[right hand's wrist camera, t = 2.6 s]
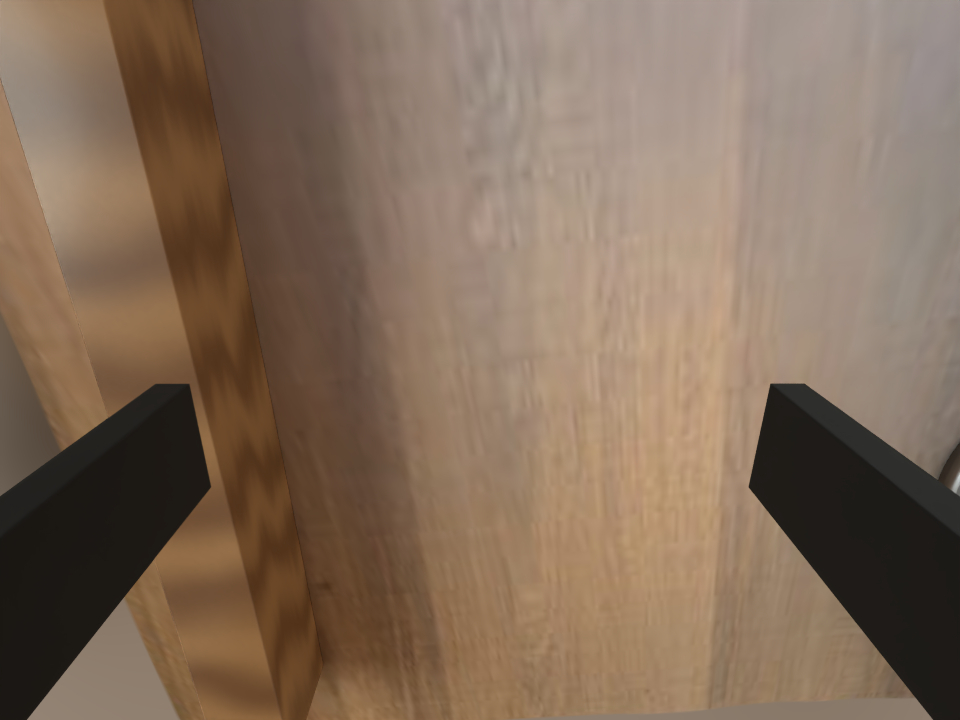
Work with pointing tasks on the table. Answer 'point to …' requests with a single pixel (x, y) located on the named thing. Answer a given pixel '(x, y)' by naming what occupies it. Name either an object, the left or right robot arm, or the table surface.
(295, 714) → the post
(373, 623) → the table surface
